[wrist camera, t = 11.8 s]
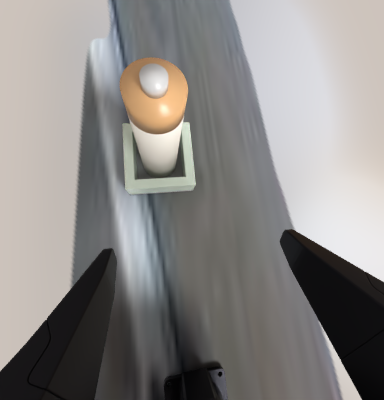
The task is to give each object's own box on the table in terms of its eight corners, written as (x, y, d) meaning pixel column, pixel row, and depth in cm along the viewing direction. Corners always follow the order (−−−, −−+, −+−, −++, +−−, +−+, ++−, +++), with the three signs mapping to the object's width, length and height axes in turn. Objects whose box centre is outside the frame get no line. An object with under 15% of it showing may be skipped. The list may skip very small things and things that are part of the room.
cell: (177, 177, 24) (192, 108, 11) (144, 179, 24) (117, 108, 10) (174, 147, 25) (185, 46, 11) (142, 148, 24) (114, 43, 11)
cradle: (192, 190, 24) (195, 184, 22) (130, 194, 23) (125, 189, 20) (186, 135, 26) (189, 122, 23) (127, 136, 25) (122, 123, 22)
